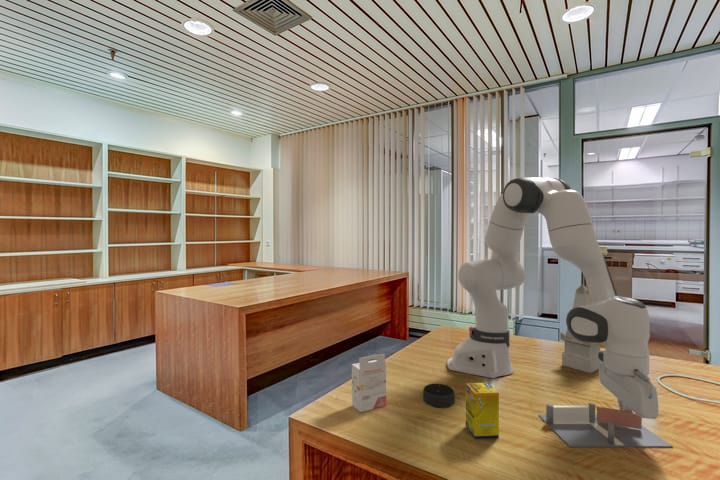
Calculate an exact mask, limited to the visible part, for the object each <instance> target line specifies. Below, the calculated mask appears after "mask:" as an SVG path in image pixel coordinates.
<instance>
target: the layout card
mask: <svg viewBox="0 0 720 480" xmlns="http://www.w3.org/2000/svg"><path fill="white" fill-rule="evenodd" d="M538 417H539V418H540V419H541V420H542V421H543V422H544V423H545V424H546V425H547V426H548V427H549V428H550V429H551V430H552V431H553V432H554V433H555V434H556V436H558V437H559V438H560V439H561V440H562V441H563V442H564V443H565V444H566V445H567V446H568V447H569V448H674V446H673V445H672V444H670V443H669V442H667V441H666V440H665V439H663V438H661V437H660V436H659V435H657V434H656V433H654V432H652V431H651V430H649V429H648V428H647V427H645V426H643V425H642V429H636V428H630V427H624V426H618V425H614V444H611V443H609V442H608V424H606V423H600V422H597V414H595V423H590V422H589V423H553V424H549V423H547V422H546V414H538Z"/></svg>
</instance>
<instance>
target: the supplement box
mask: <svg viewBox="0 0 720 480" xmlns="http://www.w3.org/2000/svg"><path fill="white" fill-rule="evenodd" d="M499 413H500V393H499V392H498V391H497V390H496V389H495V388H494V387H493V386H492V385H491V384H490V383H489V382H468V383H467V382H466V383H465V427H466V429H467V430H468V431H469V433H470V434H471V435H472V437H473V439H474V440H476V441H477V440H491V439H492V440H493V439H499V437H500V436H499V432H500V431H499V425H500V423H499V422H500V420H499V419H500V417H499V415H500V414H499Z"/></svg>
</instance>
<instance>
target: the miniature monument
mask: <svg viewBox="0 0 720 480" xmlns="http://www.w3.org/2000/svg"><path fill="white" fill-rule="evenodd" d="M573 298H574V300H573V303H572V304H573V305H572V309H573V308H576V307H578V306H583V305H589V304H592V298H591V295H590V292H589V289H588V287H586V286H585V284H581V285H580V286H579V287H578V288H576V289H575V294H574V297H573ZM559 335H560V336H559V337H560V338H559V339H560V340H562V341H564V351H563V352H562V354H561V365H562V366H563V367H567V368H571V369H574V370H578V371H581V372H585V373H588V374H592V373H594V372H596V371H599V359H598V357H597V352H598V351H601V343H593V342H583V341H580V340H578V339H576V338H575V337H573V336H572V335H571V333H570V332H569V330H568V328H567V327H566V331H565V332H564V333H563V332H561V331H560V334H559Z"/></svg>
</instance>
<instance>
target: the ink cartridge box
mask: <svg viewBox="0 0 720 480" xmlns="http://www.w3.org/2000/svg"><path fill="white" fill-rule="evenodd" d="M372 359H373V360H372ZM358 360H359V361H358V363H352V364H351V396H352V398H351V400H352V401H351V402H352V407H353V408H354V409H356V410H357V411H358V412H360V413H362V412H367V411H370V410H375V409H379V408H382V407H385V406H387V374H386V373H387V367H386V366H387V365H386V354H385V353H379V354H372V355H367V356H363V357H359V358H358Z"/></svg>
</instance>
